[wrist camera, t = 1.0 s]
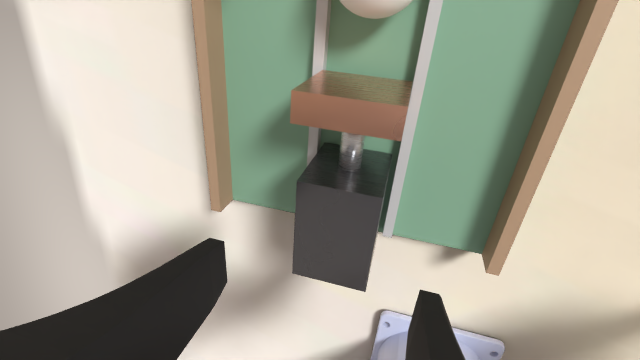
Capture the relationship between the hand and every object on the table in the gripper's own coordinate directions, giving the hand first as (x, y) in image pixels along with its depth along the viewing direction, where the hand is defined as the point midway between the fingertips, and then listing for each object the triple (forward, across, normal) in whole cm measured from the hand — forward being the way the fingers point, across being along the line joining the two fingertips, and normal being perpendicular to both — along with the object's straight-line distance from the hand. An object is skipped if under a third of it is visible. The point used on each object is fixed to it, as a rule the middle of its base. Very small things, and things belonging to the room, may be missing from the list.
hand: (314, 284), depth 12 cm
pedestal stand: (+7, 0, -2) cm, 8 cm away
